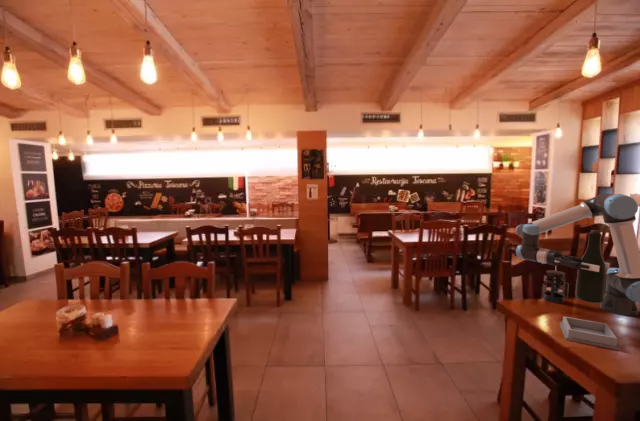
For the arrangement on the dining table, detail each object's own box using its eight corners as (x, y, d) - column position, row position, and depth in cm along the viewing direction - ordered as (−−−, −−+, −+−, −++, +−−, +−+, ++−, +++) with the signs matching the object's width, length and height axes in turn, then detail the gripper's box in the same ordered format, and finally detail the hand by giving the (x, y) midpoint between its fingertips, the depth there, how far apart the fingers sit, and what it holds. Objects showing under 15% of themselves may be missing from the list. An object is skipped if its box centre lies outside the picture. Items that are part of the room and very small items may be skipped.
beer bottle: (610, 303, 145) (617, 231, 142) (591, 304, 143) (598, 232, 140) (587, 295, 155) (593, 228, 152) (569, 296, 153) (575, 228, 150)
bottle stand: (608, 332, 146) (608, 323, 145) (620, 350, 130) (621, 340, 130) (559, 323, 155) (560, 315, 154) (565, 339, 139) (566, 329, 139)
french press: (540, 299, 186) (543, 261, 184) (544, 295, 193) (547, 259, 191) (565, 305, 178) (568, 265, 176) (568, 301, 184) (571, 262, 182)
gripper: (559, 261, 169) (614, 272, 149) (537, 266, 158) (592, 279, 138) (560, 247, 168) (615, 256, 148) (538, 252, 157) (593, 262, 138)
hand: (604, 267), depth 143 cm, fingers closed on beer bottle, 9 cm apart
